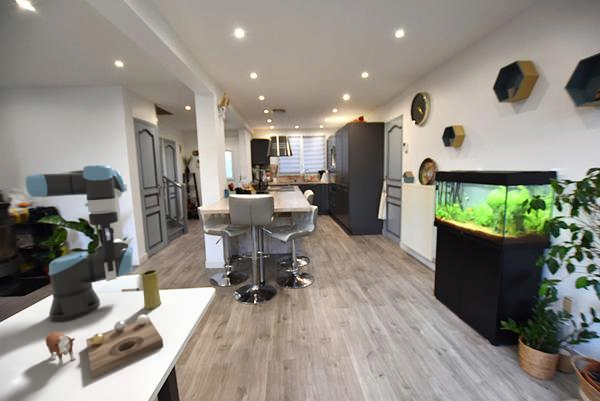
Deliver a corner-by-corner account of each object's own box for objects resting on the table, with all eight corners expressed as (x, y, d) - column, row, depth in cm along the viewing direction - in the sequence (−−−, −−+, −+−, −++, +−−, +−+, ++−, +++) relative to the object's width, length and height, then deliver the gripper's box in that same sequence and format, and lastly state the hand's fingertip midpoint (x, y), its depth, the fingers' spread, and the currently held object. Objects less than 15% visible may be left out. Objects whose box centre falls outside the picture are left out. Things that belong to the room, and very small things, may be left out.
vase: (151, 301, 105) (148, 269, 104) (164, 301, 104) (161, 269, 103) (140, 309, 99) (136, 275, 98) (154, 309, 98) (150, 275, 97)
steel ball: (113, 331, 81) (112, 322, 81) (125, 326, 83) (124, 317, 83) (115, 335, 79) (114, 326, 79) (127, 330, 81) (126, 321, 81)
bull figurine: (60, 374, 67) (56, 346, 66) (45, 356, 74) (41, 331, 73) (81, 363, 71) (77, 336, 70) (65, 347, 78) (61, 323, 77)
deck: (87, 346, 78) (86, 339, 77) (148, 323, 89) (147, 316, 89) (92, 379, 65) (91, 370, 65) (163, 346, 77) (162, 338, 76)
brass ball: (91, 344, 75) (89, 334, 75) (104, 339, 77) (103, 329, 77) (91, 349, 73) (90, 339, 72) (105, 344, 75) (104, 334, 75)
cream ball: (136, 324, 85) (134, 315, 84) (146, 320, 87) (145, 311, 87) (138, 328, 82) (137, 319, 82) (149, 323, 85) (148, 315, 84)
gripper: (87, 211, 85) (95, 277, 87) (90, 215, 76) (99, 288, 78) (113, 209, 90) (121, 271, 92) (120, 211, 81) (128, 281, 83)
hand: (111, 279), depth 85 cm, fingers closed
